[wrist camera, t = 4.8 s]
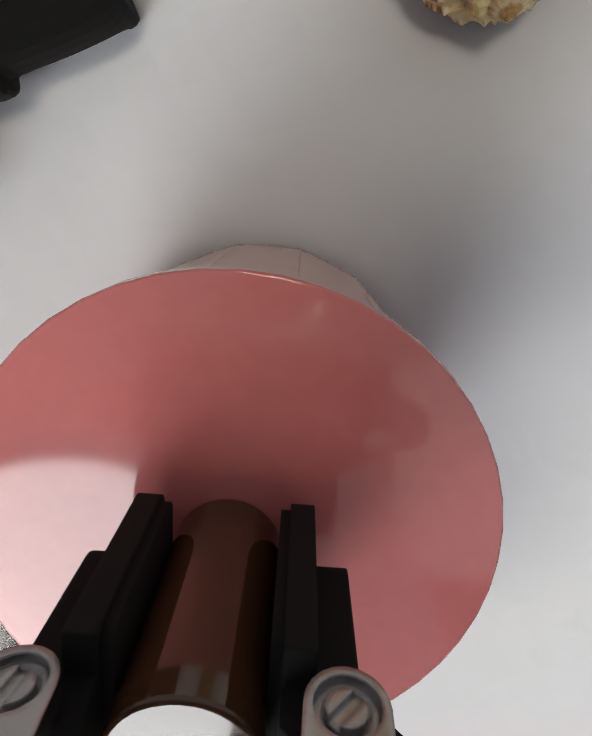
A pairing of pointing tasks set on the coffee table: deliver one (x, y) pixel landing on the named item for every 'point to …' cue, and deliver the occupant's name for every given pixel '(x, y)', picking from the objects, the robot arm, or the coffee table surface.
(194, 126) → the coffee table surface
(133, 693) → the lid
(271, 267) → the pot
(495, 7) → the seashell
